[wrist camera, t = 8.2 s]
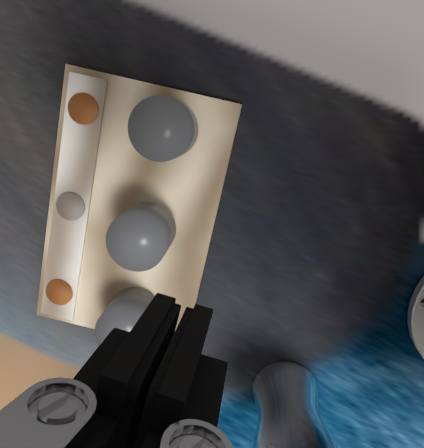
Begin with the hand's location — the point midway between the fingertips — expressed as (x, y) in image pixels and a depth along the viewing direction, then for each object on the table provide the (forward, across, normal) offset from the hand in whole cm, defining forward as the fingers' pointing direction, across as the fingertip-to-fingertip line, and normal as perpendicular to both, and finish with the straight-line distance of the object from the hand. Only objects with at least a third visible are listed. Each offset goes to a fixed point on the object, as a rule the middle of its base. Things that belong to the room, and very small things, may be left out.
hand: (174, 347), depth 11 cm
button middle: (+20, +6, +3) cm, 21 cm away
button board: (+22, +8, +3) cm, 24 cm away
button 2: (+21, +6, +11) cm, 24 cm away
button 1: (+21, +6, -5) cm, 22 cm away
